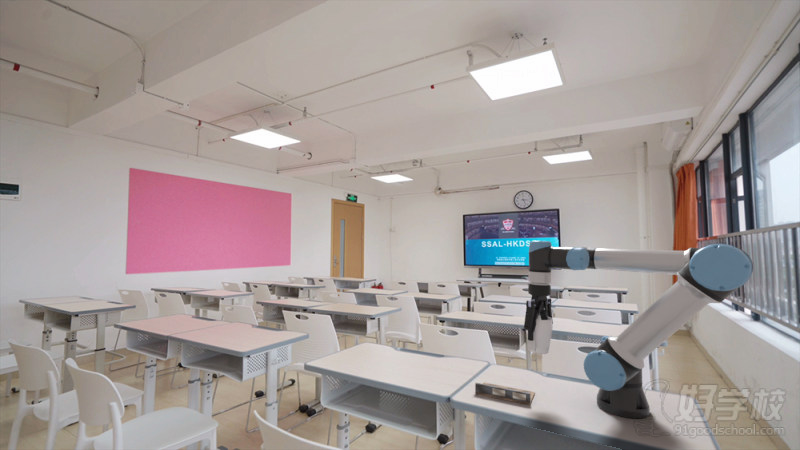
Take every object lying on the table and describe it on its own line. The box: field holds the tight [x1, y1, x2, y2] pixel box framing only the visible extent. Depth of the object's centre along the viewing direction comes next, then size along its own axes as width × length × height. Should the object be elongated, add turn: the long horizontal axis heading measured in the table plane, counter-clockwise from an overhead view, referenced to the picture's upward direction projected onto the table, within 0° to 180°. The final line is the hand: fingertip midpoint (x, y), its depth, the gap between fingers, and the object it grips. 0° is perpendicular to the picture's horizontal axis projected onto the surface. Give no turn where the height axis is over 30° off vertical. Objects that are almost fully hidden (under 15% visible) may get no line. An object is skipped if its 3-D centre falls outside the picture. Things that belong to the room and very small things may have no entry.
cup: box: [525, 314, 553, 355], centre depth 130 cm, size 9×9×12 cm
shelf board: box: [474, 382, 536, 406], centre depth 133 cm, size 19×11×4 cm, turn 62°
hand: (538, 347), depth 130 cm, fingers closed on cup, 9 cm apart
